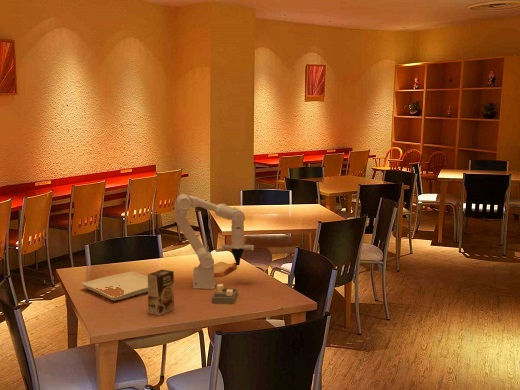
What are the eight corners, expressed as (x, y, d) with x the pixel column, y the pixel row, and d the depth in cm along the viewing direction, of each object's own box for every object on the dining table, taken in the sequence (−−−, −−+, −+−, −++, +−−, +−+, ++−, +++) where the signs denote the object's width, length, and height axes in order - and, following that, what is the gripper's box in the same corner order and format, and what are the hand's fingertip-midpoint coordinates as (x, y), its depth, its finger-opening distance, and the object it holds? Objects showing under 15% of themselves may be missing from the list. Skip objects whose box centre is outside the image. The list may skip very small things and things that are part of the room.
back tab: (216, 290, 256) (216, 286, 256) (218, 288, 259) (218, 284, 259) (222, 290, 256) (222, 286, 256) (223, 288, 259) (223, 284, 259)
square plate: (80, 290, 266) (80, 282, 265) (132, 278, 285) (132, 270, 285) (112, 305, 247) (112, 296, 247) (166, 290, 266) (166, 282, 266)
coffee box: (160, 316, 233) (159, 276, 231) (147, 313, 237) (146, 274, 234) (175, 309, 241) (174, 271, 238) (163, 306, 244) (162, 268, 242)
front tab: (226, 296, 249) (226, 291, 249) (227, 293, 252) (227, 289, 252) (232, 296, 249) (231, 291, 248) (232, 294, 252) (232, 289, 251)
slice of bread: (215, 278, 284) (215, 271, 283) (199, 269, 299) (199, 262, 299) (248, 273, 293) (248, 266, 292) (231, 265, 308) (231, 258, 308)
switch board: (211, 303, 248) (211, 297, 248) (217, 293, 261) (217, 287, 261) (233, 303, 248) (233, 297, 247) (237, 293, 260) (237, 288, 260)
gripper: (220, 237, 267) (220, 266, 269) (252, 238, 266) (252, 267, 268) (223, 234, 274) (223, 262, 276) (254, 234, 273) (254, 263, 275)
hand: (237, 264), depth 272 cm, fingers closed
